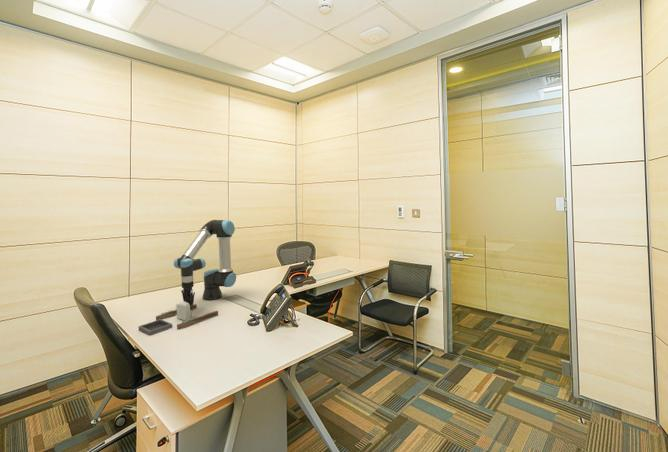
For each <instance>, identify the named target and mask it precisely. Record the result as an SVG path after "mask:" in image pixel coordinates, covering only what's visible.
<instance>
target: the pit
mask: <svg viewBox="0 0 668 452" xmlns="http://www.w3.org/2000/svg"><path fill="white" fill-rule="evenodd" d="M137 328H138V331H140V332H142V333H144V334H147V335H148V336H153V335H155V334H159V333H161V332H164V331H166V330H170V329H172V328H173V323H171V322H169V321H167V320H166V321H165V320H164V319H162V320H161V319H160V320H157V321H156V320H154V321H151V322H148V323H144V324H142V325H138V327H137ZM169 328H170V329H169Z"/></svg>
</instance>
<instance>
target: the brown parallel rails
mask: <svg viewBox="0 0 668 452" xmlns="http://www.w3.org/2000/svg"><path fill="white" fill-rule="evenodd" d="M197 305H198V304H197V303H193V305H191V311H192V310H196V309H197V308H198V306H197ZM174 316H177V309H176V310H168V311H165V312H162V313H160V314H158V315H155V321H157V320H160V319H161V320H164V319H165V320H166V319H168V318H170V317H174ZM216 316H219V310H215V311H212V312H208V313H206V314H203V315H201V316H197V317H192V318H191V319H188V320H182V321H181V322H180V323H177V324H176V330H178V329H179V330H181V328H182V329H184V328H187V327H190V326H192V325H196V324H198V323H200V322H203V321H206V320H208V319H211V318H214V317H216Z"/></svg>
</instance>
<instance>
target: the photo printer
mask: <svg viewBox="0 0 668 452" xmlns="http://www.w3.org/2000/svg"><path fill="white" fill-rule="evenodd" d="M175 305H176V310H177V315H176V317H177V320H182V321H186V320H188V319H191V316H192V314H190V304H189V303H187V302H185V301H183V300H181V301H177V303H176V304H175Z"/></svg>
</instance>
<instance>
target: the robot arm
mask: <svg viewBox="0 0 668 452" xmlns="http://www.w3.org/2000/svg"><path fill="white" fill-rule="evenodd" d="M235 229H236V228H235V224H234V223H233V222H232V220H230V219H229V220H227V219H212V220H210V221H208V222H206V223H205V224H204V225H203V226H202V227H201V228H200V229H199V232H198V234H197V235H196V237H194V239H193V241H192V242H191V243H190V244H189V246H188V247H187V248H186V250H185V251H184V252H183V254H181V257H177V258H175V259H174V260H173V266H174V268H175V269H179V270H180V276H181V288H182V289H181V290H180V291H181V294H182V296H181V297H182V301H185V302H187V303H189V304H190V314H191V315H192V310H191V305H194V304H195V302H194V301H195V294H196V292H195V291H194V290H193V287H194V285H195V284H194V272H196V271H199V270H202V269H204V268H205V267H206V260H205V259H204V258H201V257H200V258H195V257H196V255H197V254H198V253H199V251H200V250H201V248H202V247H203V245H204V244H205V243H206V241H207V240H208V239H210V238H211V237H212V236H214V235H216V238H217V239H218V255H219V261H218V262H219V268H214V269H213V268H212V269H209V270H206V271H204V272H203V283H204V285H203V286H204V290H203V294H202V300H205V301H215V300H219V299H221V298H222V297H223V292H222V290H221V288H220V287H223V288H231V287H233V286H234V285H235V283H236V280H237V274H236V273H235V272H234V269H233V268H232V262H231V261H232V260H231V238H232V237H233V235H234V233H235Z"/></svg>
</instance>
